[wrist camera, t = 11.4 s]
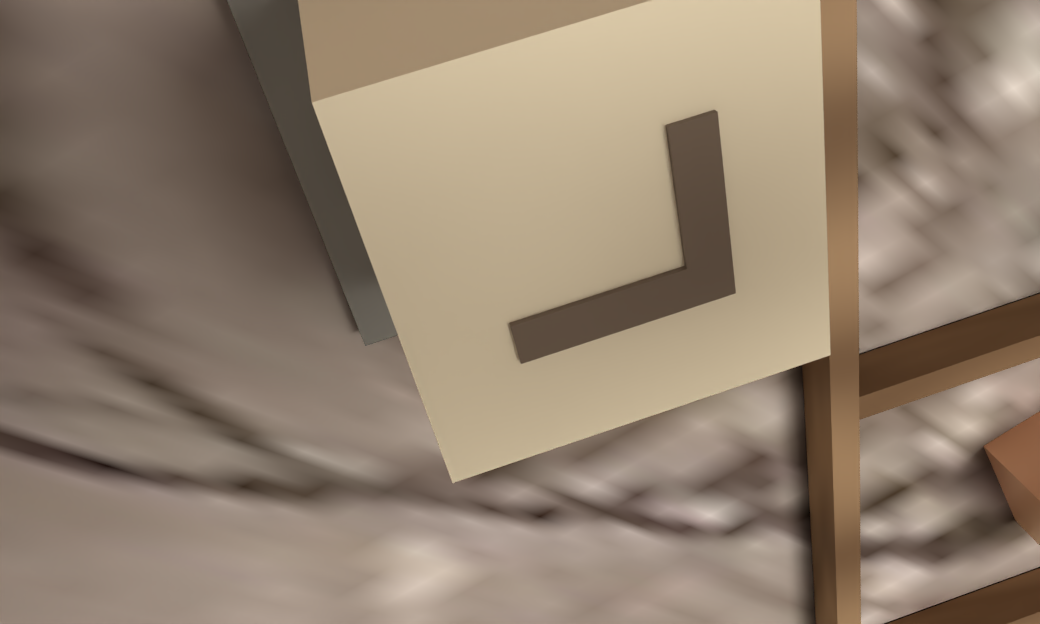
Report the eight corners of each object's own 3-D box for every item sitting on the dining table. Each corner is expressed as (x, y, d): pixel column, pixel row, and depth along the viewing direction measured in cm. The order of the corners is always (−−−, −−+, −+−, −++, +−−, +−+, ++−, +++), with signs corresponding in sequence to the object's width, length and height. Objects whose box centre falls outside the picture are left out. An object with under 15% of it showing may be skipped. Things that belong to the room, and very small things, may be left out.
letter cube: (684, 191, 20) (839, 356, 15) (401, 282, 20) (453, 487, 14) (644, -120, 17) (829, -51, 11) (295, -18, 16) (312, 105, 11)
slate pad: (727, 213, 22) (737, 225, 21) (362, 331, 21) (365, 345, 20) (683, -212, 16) (696, -210, 16) (201, -75, 16) (199, -69, 15)
